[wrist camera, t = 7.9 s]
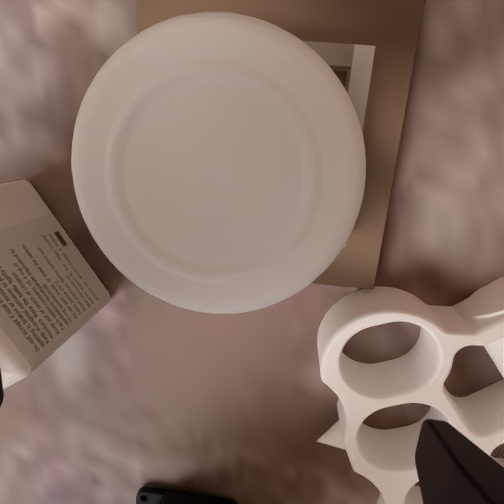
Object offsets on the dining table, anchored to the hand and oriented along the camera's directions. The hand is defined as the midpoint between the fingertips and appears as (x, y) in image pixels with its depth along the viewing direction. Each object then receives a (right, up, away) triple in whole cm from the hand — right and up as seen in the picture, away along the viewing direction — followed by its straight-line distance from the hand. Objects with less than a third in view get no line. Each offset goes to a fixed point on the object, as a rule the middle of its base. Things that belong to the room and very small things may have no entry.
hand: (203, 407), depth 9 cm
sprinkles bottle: (+2, +8, +10) cm, 13 cm away
